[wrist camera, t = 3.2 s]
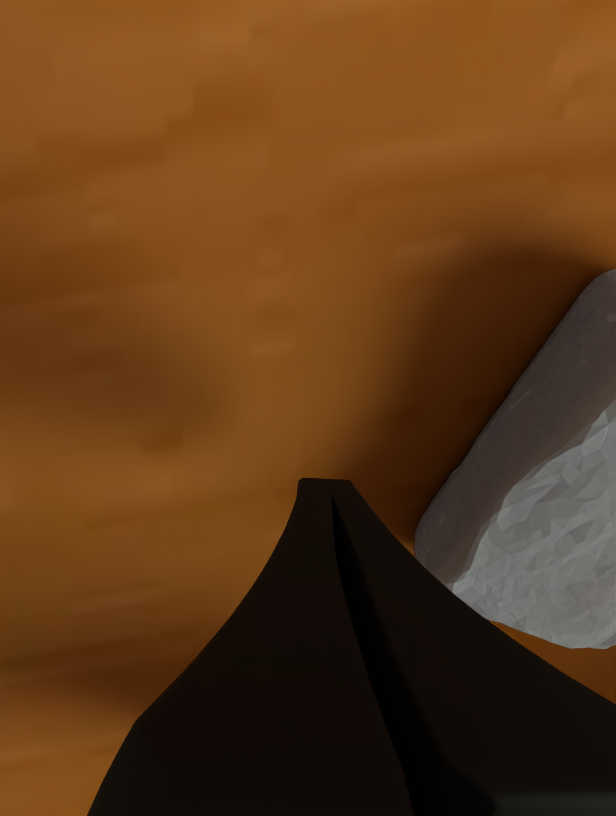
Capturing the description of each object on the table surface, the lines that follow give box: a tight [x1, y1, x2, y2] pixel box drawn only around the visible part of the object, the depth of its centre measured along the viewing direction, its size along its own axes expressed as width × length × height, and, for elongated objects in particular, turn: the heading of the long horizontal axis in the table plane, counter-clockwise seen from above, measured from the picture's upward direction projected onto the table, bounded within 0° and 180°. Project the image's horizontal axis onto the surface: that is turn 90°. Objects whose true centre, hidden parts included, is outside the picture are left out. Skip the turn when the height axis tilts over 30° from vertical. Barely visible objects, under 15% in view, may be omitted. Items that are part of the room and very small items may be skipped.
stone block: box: [414, 268, 616, 649], centre depth 13 cm, size 12×5×10 cm
